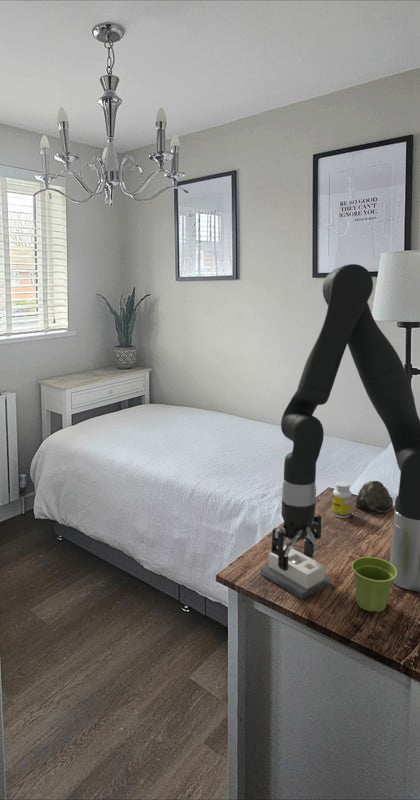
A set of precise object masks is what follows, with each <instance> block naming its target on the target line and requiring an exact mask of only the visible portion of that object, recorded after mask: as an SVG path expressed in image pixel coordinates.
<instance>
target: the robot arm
mask: <svg viewBox="0 0 420 800" xmlns="http://www.w3.org/2000/svg"><path fill="white" fill-rule="evenodd" d="M373 290H374V280H373V276H372V275H371V273H370V271H369V270H368V269H367V268H366V267H364V266H362V265H360V264H357V263H353V264H352V263H350V264H345V265H342V266H340V267H338V268H335V269H334V270H332V271H331V272H330V273H328V274H327V276H326V277H325V278H324V281H323V285H322V295H323V298H324V299H323V300H324V301H325V303H326V305H327V310H326V314H325V318H324V321H323V324H322V327H321V330H320V332H319V335H318V337H317V339H316V341H315V343H314V344H313V347H312V349H311V351H310V352H309V355H308V357H307V359H306V362H305V364H304V367H303V370H302V372H301V373H302V374H301V377H300V379H299V383H298V385H297V390H296V391H295V393H294V394H293V396H292V397H291V398H290V401H289V402H288V404H287V406H286V408H285V410H284V411H283V414H282V416H281V422H280V429H281V432H282V434H283V436H284V437H286V438H287V439H288V440H290V441H291V442H292V443H293V444H292V446H293V447H292V451H291V452H289V453H288V454H286V456H285V458H284V463H283V464H284V466H283V482H282V487H281V515H280V516H281V517H282V520H283V525H282V527H281V528H277V527H273V528H272V534H271V535H272V536H271V537H272V538H271V548H270V549H271V550H270V552H272V553H274V554H276V555H278V566H279V568H280V569H282V570H284V571H286V570H288V554H289V552H290V550H291V548H292V549H294V548H295V546H296V544H297V543H299V541H301V540H304V541H303V543H304V544H303V554H304V555H306V556H308V557H309V558H311V559H313V557H314V552H315V543H316V542H317V539H318V540H319V539H321V538H322V516H321V515H319V514H316V498H317V485H316V474H317V473H316V471H317V462H318V459H319V457H320V453H321V450H322V447H323V441H324V435H325V433H324V427H323V424H322V422H321V420H320V419H318V417H315V416H314V413H315V411H316V409H317V408H318V406H322V405H325V404H326V403H327V402H328V400H329V398H330V395H331V393H332V390H333V386H334V383H335V381H336V377H337V375H338V371H339V368H340V365H341V362H342V359H343V356H344V354H345V351H346V348H347V346H348V349H349V352H350V355H351V357H352V360H353V362H354V365H355V368H356V370H357V373H358V376H359V378H360V380H361V383H362V385H363V388H364V390H365V392H366V395H367V397H368V398H369V401H370V402H371V404H372V407H373V408H374V410H375V411H376V413H377V414H378V416H379V417H380V419H381V420H382V422H383V424H384V426H385V427H386V430H387V433H388V437H389V438H390V441H391V445H392V447H393V452H394V455H395V460H396V462H397V463H396V464H397V467H398V469H399V472H400V476H399V487H398V495H397V496H396V498H395V501H394V513H393V522H392V523H393V524H392V533H391V534H392V535H391V546H390V556H389V557H390V558H389V563H391V564H392V565H394V566H395V568H396V569H397V577H396V578H395V579H394V581H393V583H392V584H394V585H396V586H397V587H399V588H402V589H404V590H409V591H415V592H418V593H420V417H419V415H418V412H417V407H416V403H415V398H414V393H413V389H412V385H411V383H410V380H409V377H408V374H407V371H406V369H405V367H404V364H403V362H402V360H401V357H400V356H399V354H398V352H397V350H396V349H395V348H394V345H392V344H391V341H389V339H388V338H387V337H386V335H385V334H384V333H383V331H382V330H381V328H380V327H379V326H378V324H377V323H376V320H375V319H374V316H373V314H372V311H371V309H370V305H369V302H368V301H369V299H370V297H371V296H372V293H373ZM286 540H289V542H288V541H286ZM286 545H287V546H286ZM284 546H286V549H285V550H283V547H284Z"/></svg>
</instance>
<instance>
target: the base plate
mask: <svg viewBox="0 0 420 800" xmlns="http://www.w3.org/2000/svg"><path fill="white" fill-rule="evenodd" d="M291 562H292V563H294V564H296V565H298V564H300V563H301V560H299V559H292V560H291ZM260 575H262V576H263V577H264V578H267V580H269V581H271V582H273V583H274V584H276V585H277V586H279V587H281V588H283V589H284V590H286V591H287V592H288V593H291V594H292V595H294V596H295V597H297V598H299V599H300V600H304V599H305V598H308V597H310V596H311V595H313V594H315V593H317V592H319V591H320V590H322V589H324V588H326V587H327V586H330V585H331V584H332V577H331V576H329V575H328V574H326V573H325V578H324V580H323V581H321V582H319V583H317V584H315V585H313V586H312V587H310V588H308V589H306V588H304V587H303V586H301V585H299V584H298V583H296V582H294V581H292V580H291V579H289V578H287V577H286V576H284V575H282V574H281V573H279V572H277V571H276V570H274V569H272V568H270V567H269V564H267V565H265V566H264V567H263V566H262V567H261V568H260Z"/></svg>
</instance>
